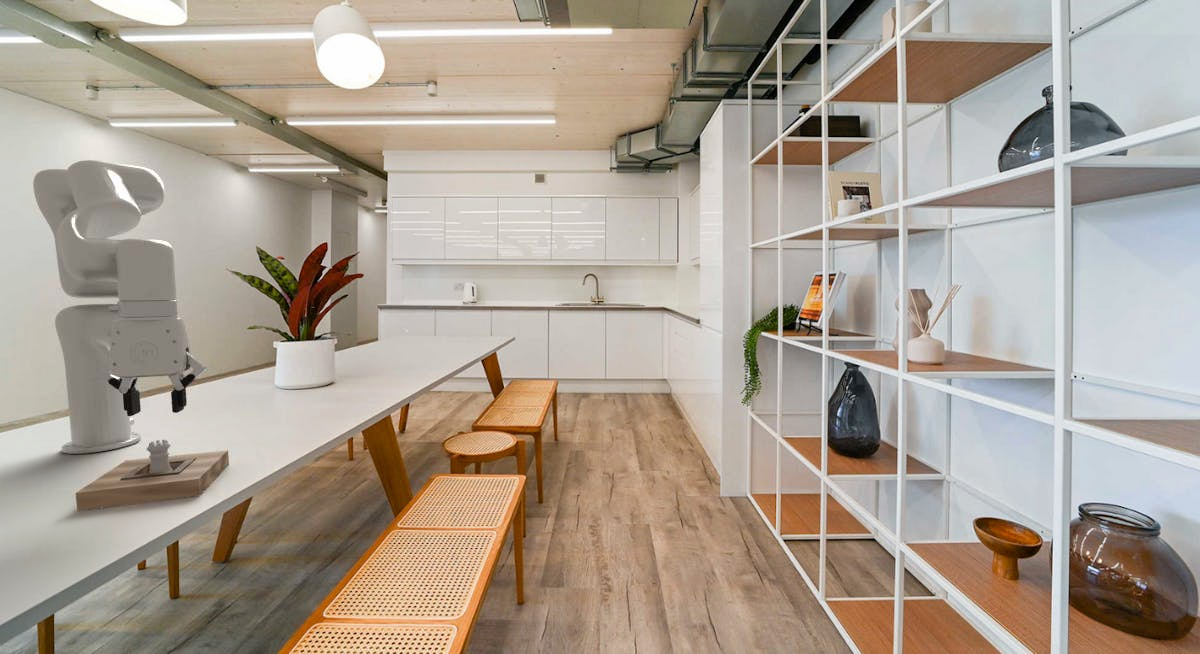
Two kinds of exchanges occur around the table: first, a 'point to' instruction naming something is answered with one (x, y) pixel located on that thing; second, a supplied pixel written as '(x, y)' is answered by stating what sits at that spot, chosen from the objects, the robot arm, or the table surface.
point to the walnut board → (153, 481)
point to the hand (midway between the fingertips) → (156, 411)
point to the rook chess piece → (159, 456)
